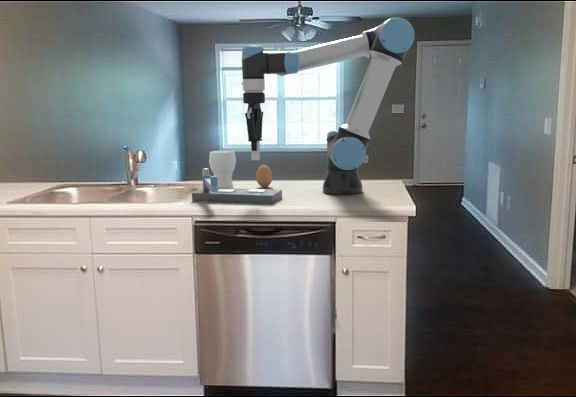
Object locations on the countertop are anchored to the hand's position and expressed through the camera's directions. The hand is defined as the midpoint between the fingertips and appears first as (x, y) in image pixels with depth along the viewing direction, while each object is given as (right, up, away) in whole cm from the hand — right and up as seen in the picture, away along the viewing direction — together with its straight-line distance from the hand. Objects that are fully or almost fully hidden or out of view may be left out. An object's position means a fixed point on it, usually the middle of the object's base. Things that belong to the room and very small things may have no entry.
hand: (255, 159), depth 199 cm
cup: (-14, -10, +27) cm, 32 cm away
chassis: (-7, -14, +4) cm, 16 cm away
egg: (+2, -9, +30) cm, 31 cm away
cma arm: (-15, -11, -6) cm, 19 cm away
